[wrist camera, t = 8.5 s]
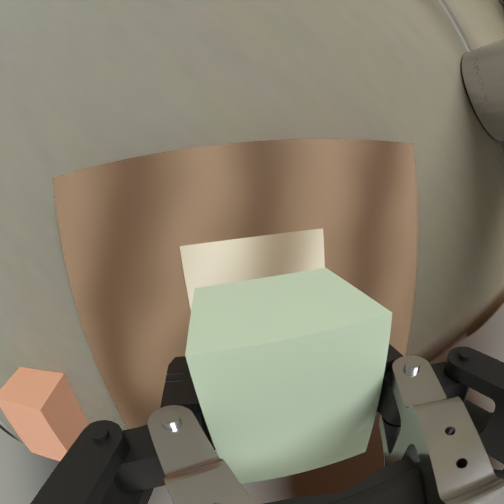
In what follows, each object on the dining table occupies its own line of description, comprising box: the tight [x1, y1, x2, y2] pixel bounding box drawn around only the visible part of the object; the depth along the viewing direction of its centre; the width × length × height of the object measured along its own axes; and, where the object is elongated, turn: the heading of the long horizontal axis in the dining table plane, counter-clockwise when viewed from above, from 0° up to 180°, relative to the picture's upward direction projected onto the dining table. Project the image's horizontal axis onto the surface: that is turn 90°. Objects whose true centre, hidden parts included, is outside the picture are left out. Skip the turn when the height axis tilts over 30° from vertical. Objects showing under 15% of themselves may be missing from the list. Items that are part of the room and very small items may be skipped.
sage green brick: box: [185, 268, 392, 484], centre depth 9 cm, size 5×6×4 cm
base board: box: [53, 139, 418, 429], centre depth 15 cm, size 20×17×2 cm
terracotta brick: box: [0, 367, 89, 461], centre depth 13 cm, size 5×6×4 cm
